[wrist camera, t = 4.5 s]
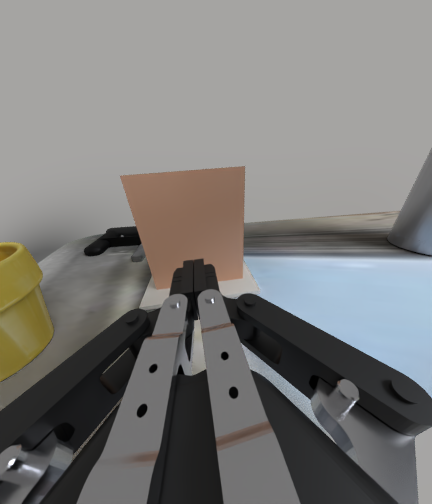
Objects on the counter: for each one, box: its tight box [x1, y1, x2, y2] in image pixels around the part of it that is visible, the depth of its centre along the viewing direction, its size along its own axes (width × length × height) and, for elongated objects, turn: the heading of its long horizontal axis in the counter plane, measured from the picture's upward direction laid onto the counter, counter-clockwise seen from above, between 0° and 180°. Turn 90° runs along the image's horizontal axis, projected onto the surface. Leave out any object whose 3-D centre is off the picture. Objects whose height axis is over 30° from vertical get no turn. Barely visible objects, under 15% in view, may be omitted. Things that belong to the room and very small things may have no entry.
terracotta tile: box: [120, 166, 245, 290], centre depth 19 cm, size 12×3×14 cm, turn 97°
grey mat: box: [139, 260, 260, 310], centre depth 27 cm, size 15×18×1 cm
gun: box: [84, 226, 146, 262], centre depth 36 cm, size 3×20×16 cm
